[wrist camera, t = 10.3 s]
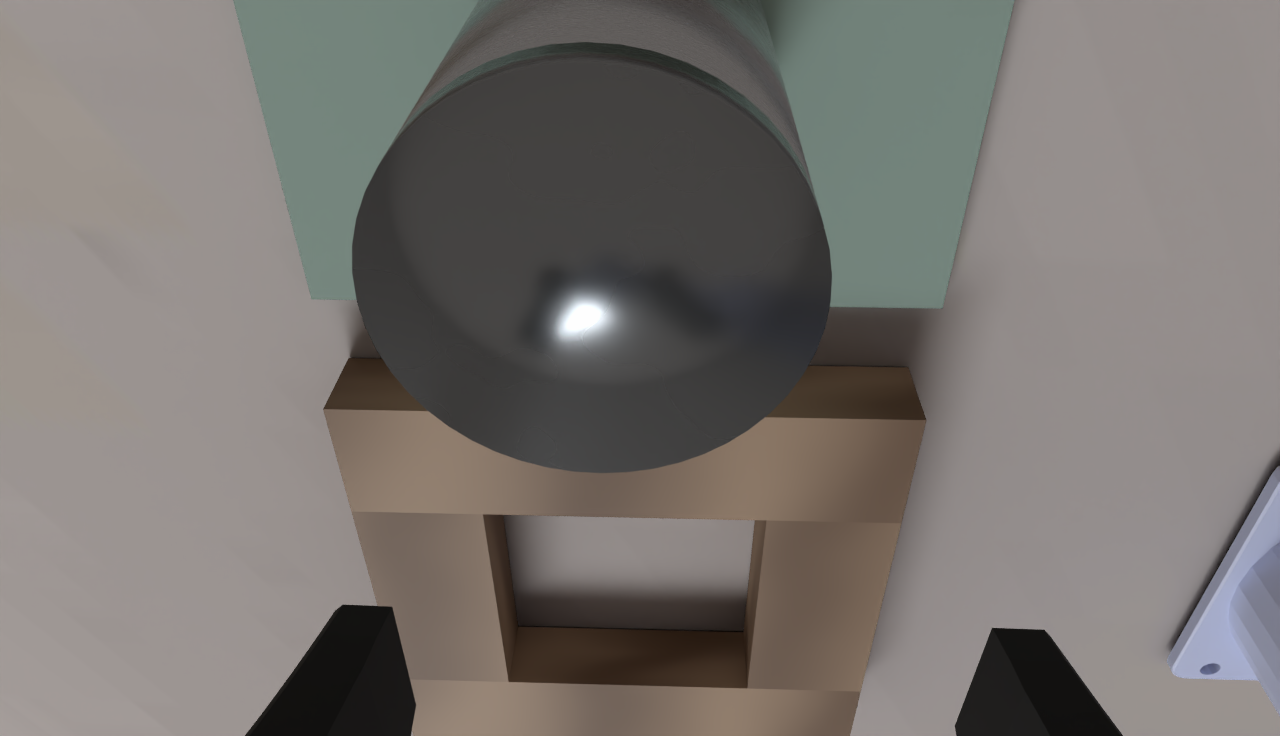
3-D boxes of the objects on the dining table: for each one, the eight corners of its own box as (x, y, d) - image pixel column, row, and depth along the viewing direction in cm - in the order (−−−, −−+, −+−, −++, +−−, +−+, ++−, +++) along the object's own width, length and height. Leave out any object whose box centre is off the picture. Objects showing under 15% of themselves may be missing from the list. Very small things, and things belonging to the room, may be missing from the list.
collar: (908, 367, 20) (926, 420, 18) (836, 697, 27) (845, 752, 26) (348, 358, 20) (323, 409, 19) (429, 686, 28) (414, 741, 26)
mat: (1074, -304, 13) (1085, -305, 12) (938, 297, 19) (942, 308, 18) (167, -300, 13) (154, -300, 13) (317, 289, 19) (311, 299, 19)
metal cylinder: (780, -102, 14) (863, 63, 8) (757, 192, 17) (806, 475, 11) (459, -100, 14) (300, 63, 8) (494, 192, 17) (397, 470, 11)
